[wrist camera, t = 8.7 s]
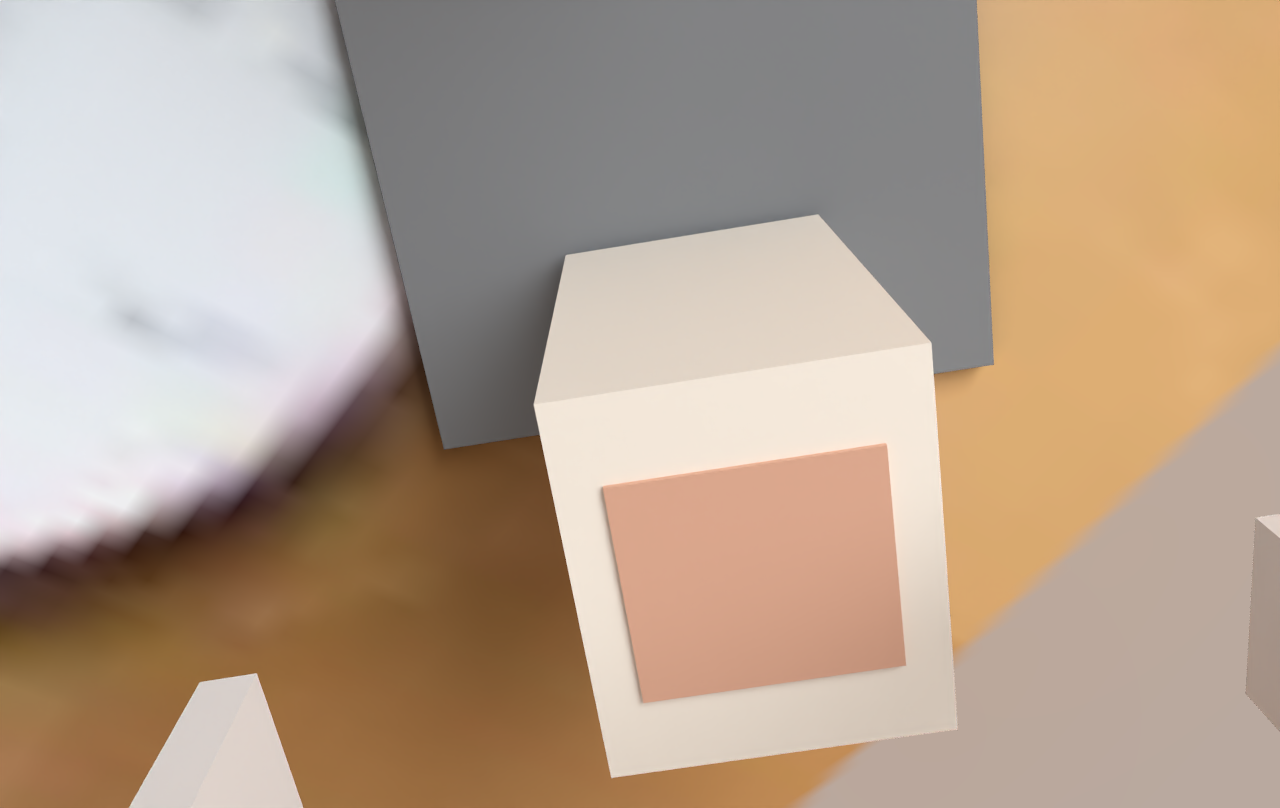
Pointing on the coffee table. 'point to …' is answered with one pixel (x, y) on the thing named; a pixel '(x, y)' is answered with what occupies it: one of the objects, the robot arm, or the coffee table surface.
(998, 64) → the coffee table surface
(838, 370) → the box with pink panel
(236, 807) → the robot arm
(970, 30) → the mat
